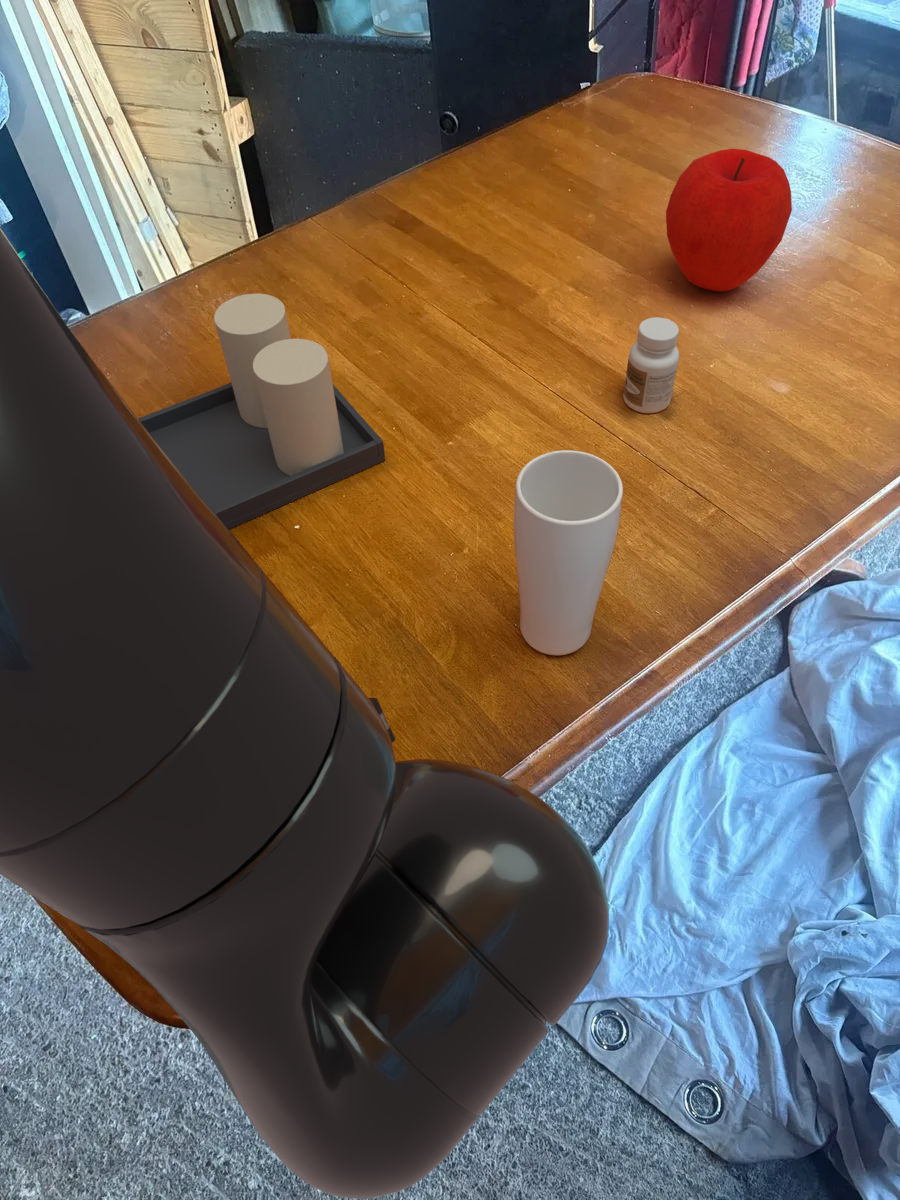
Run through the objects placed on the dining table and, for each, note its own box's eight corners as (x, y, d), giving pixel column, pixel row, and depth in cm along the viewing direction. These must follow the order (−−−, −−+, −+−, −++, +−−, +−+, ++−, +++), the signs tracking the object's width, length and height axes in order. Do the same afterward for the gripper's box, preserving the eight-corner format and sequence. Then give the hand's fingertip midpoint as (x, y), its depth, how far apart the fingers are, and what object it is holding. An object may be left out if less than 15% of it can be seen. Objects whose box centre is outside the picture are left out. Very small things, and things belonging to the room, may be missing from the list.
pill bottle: (616, 388, 84) (626, 317, 78) (660, 381, 85) (674, 310, 79) (631, 418, 82) (642, 346, 75) (677, 411, 82) (692, 339, 76)
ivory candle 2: (293, 488, 76) (271, 394, 68) (264, 449, 79) (240, 354, 72) (355, 461, 78) (341, 366, 70) (324, 424, 81) (307, 329, 73)
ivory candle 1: (255, 437, 80) (230, 342, 73) (229, 401, 84) (202, 308, 76) (315, 412, 82) (297, 318, 74) (287, 379, 86) (267, 285, 78)
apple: (656, 314, 92) (678, 185, 81) (652, 252, 99) (672, 127, 88) (774, 318, 90) (812, 188, 80) (762, 256, 98) (795, 129, 87)
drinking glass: (514, 591, 69) (519, 444, 57) (602, 598, 68) (625, 451, 57) (505, 662, 65) (509, 520, 53) (598, 671, 64) (623, 529, 53)
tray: (111, 581, 71) (102, 562, 69) (56, 472, 79) (47, 453, 78) (385, 460, 79) (383, 441, 77) (309, 373, 87) (306, 353, 85)
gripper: (405, 662, 40) (323, 641, 56) (95, 823, 36) (101, 750, 51) (470, 806, 41) (371, 745, 57) (178, 979, 37) (159, 861, 53)
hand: (243, 748), depth 54 cm, fingers closed on candle, 5 cm apart
